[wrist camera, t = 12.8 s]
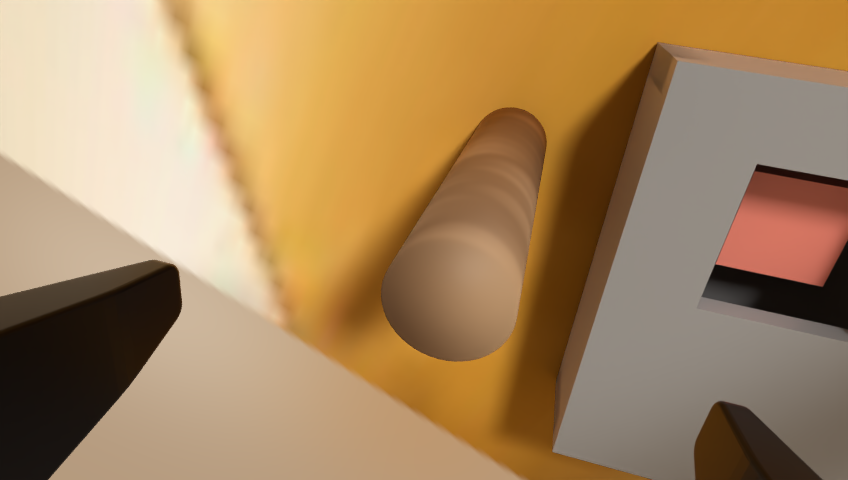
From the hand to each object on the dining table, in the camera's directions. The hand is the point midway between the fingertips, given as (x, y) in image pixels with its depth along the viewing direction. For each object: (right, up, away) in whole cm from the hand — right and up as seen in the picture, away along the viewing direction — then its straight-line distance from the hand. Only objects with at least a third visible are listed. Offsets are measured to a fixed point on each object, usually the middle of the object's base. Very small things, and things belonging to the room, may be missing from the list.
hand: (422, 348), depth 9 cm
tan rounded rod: (+3, +5, +11) cm, 13 cm away
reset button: (+12, +3, +9) cm, 15 cm away
